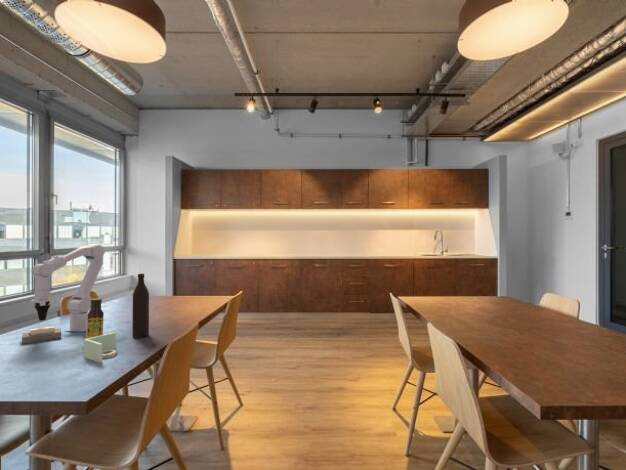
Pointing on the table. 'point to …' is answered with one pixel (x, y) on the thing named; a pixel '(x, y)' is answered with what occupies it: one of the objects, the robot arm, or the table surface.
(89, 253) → the robot arm
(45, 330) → the clip
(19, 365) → the table surface
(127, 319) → the table surface
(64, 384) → the table surface
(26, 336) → the grey slotted block
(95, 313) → the sauce bottle
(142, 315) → the wine bottle
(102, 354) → the l-shaped corner panel
